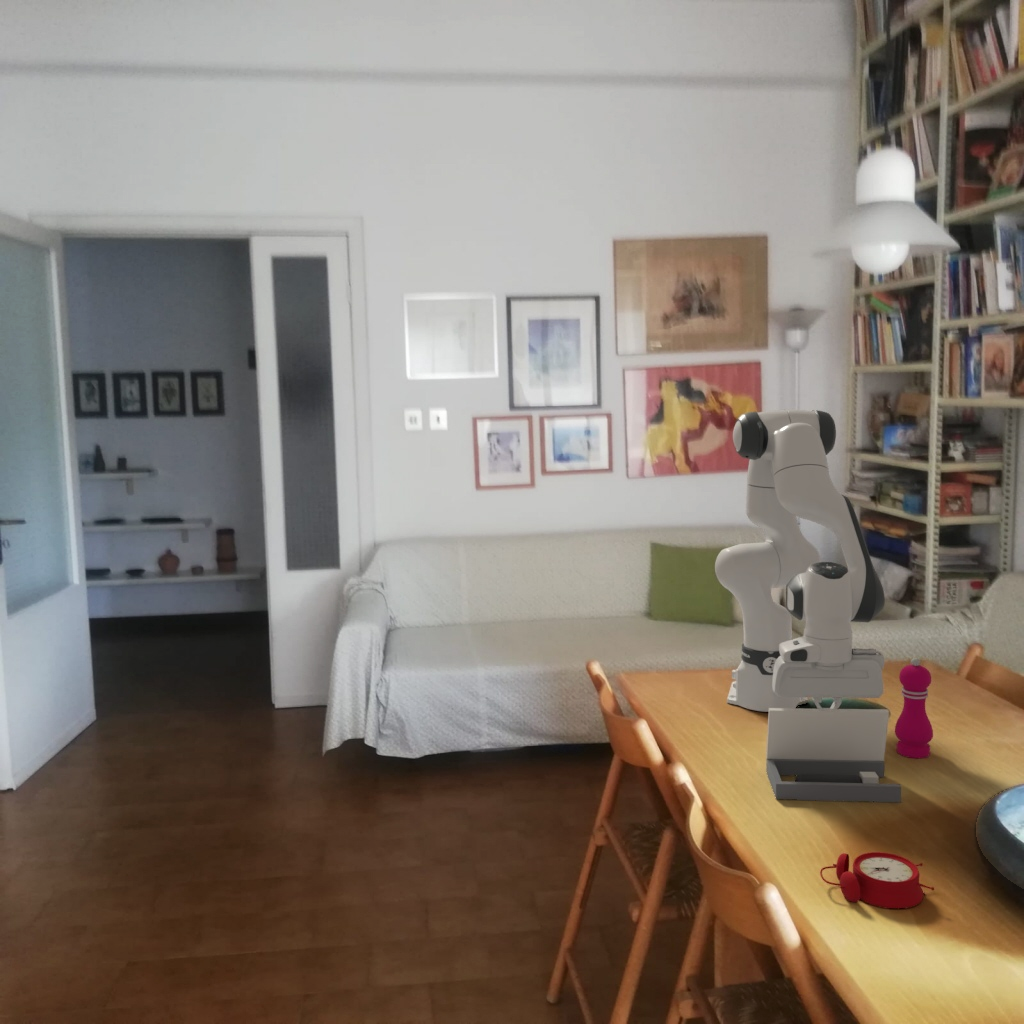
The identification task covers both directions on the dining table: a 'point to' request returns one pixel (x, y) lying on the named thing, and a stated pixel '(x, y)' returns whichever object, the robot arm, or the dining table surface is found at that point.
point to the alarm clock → (879, 880)
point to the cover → (827, 734)
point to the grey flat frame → (827, 789)
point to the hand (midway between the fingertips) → (826, 718)
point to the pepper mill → (914, 712)
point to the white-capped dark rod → (839, 778)
